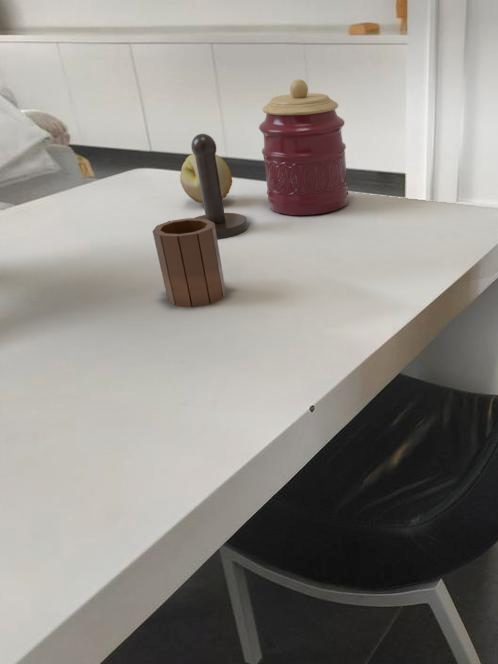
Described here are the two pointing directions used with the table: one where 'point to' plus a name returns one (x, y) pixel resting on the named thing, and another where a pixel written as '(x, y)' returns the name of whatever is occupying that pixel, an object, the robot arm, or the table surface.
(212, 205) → the round-topped peg stand
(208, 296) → the wooden slatted cup
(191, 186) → the fruit
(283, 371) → the table surface
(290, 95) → the kitchen canister
